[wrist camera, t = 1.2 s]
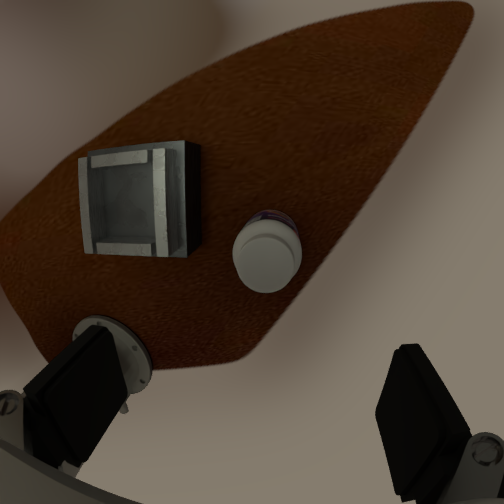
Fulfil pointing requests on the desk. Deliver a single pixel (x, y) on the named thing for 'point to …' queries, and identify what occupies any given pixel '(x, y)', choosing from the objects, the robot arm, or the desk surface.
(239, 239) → the pill bottle
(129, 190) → the grey open box
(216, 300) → the desk surface
